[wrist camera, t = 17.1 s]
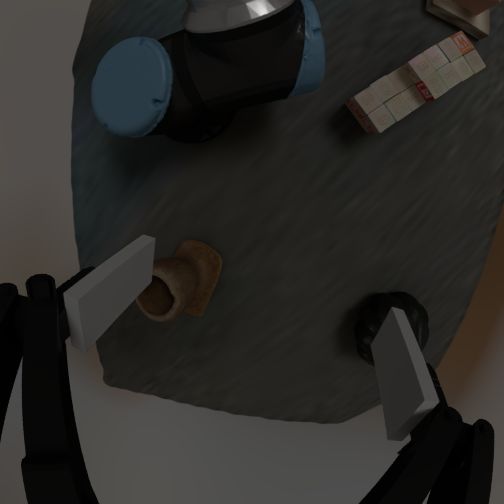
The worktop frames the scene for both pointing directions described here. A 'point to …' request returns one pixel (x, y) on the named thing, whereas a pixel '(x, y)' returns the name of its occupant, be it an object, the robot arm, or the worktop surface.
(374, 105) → the stack of blocks
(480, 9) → the terracotta block
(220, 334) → the worktop surface
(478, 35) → the birch base block
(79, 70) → the worktop surface
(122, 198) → the worktop surface
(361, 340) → the squash
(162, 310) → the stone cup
